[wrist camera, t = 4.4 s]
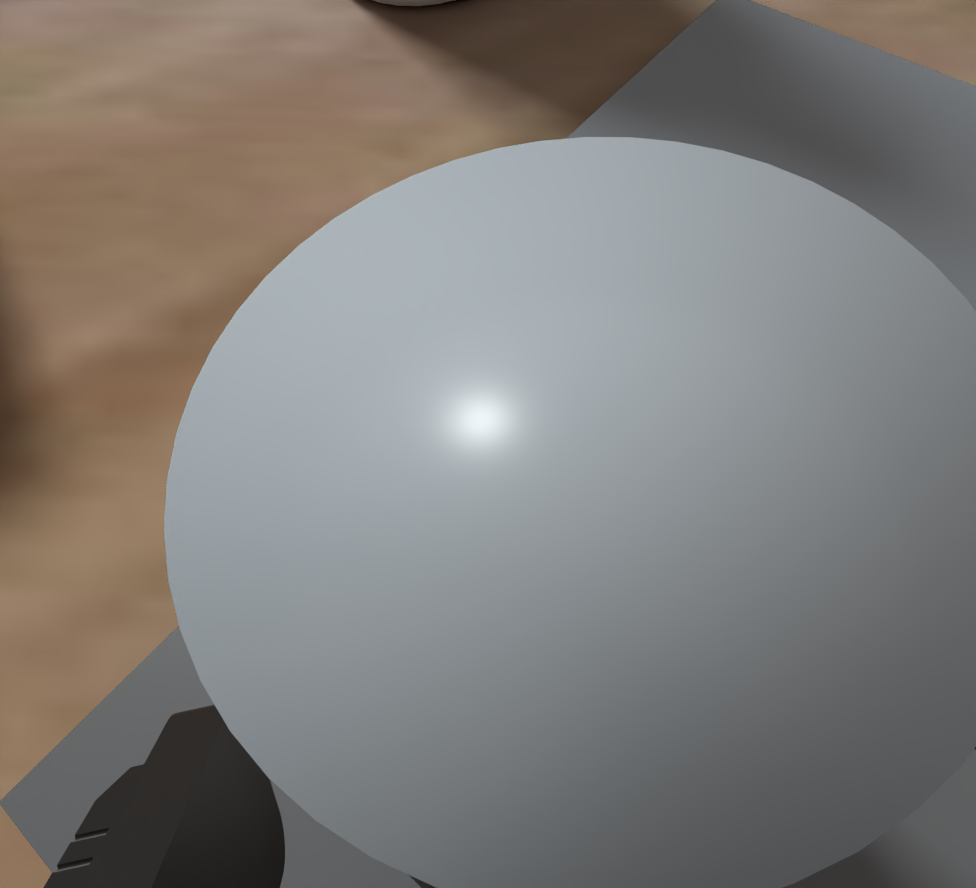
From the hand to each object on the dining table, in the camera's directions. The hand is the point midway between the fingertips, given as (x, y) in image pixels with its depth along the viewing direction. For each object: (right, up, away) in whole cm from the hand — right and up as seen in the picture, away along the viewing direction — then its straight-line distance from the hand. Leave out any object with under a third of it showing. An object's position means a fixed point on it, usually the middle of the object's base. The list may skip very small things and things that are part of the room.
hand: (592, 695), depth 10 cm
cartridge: (+1, -4, +7) cm, 8 cm away
